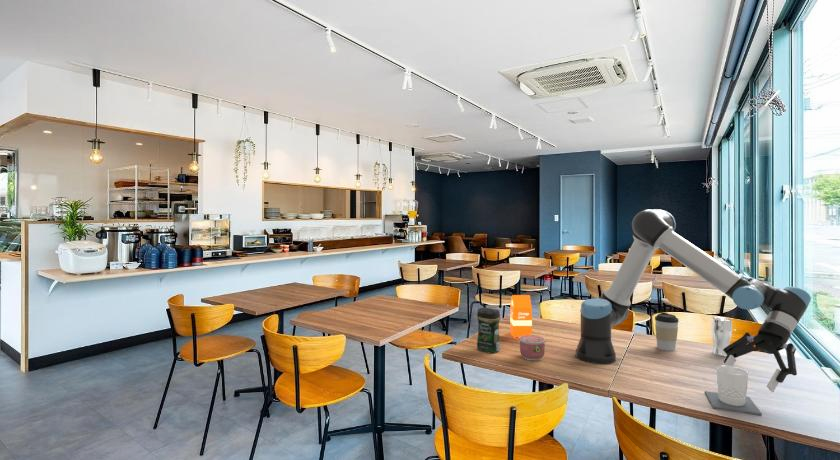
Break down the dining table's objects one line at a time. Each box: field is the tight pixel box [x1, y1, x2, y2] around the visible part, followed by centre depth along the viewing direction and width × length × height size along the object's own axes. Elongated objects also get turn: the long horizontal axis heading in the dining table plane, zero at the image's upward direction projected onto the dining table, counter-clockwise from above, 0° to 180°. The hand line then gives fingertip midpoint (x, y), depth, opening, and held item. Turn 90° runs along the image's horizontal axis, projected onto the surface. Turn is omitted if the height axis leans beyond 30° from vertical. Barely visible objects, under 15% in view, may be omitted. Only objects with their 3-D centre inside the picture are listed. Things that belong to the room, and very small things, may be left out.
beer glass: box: [711, 316, 733, 358], centre depth 176 cm, size 7×7×15 cm
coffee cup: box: [654, 312, 680, 352], centre depth 184 cm, size 9×9×15 cm
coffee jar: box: [476, 306, 501, 354], centre depth 184 cm, size 10×8×19 cm
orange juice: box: [509, 294, 533, 339], centre depth 205 cm, size 8×9×20 cm
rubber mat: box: [704, 390, 763, 416], centre depth 132 cm, size 12×12×1 cm
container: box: [518, 334, 546, 361], centre depth 175 cm, size 10×10×8 cm
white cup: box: [716, 365, 749, 406], centre depth 132 cm, size 8×8×10 cm
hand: (745, 380), depth 133 cm, fingers open, 13 cm apart
